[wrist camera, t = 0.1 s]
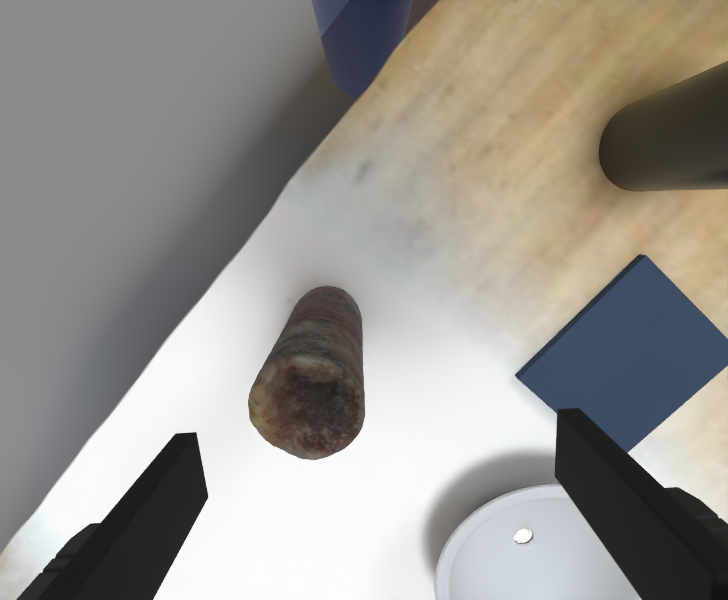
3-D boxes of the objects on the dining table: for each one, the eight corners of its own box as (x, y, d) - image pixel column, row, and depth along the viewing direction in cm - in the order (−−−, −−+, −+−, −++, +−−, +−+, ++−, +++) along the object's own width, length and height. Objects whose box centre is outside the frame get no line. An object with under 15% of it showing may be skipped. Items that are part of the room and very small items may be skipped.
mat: (639, 254, 42) (646, 255, 41) (733, 350, 44) (742, 353, 43) (514, 375, 45) (518, 378, 44) (609, 459, 47) (614, 464, 46)
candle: (375, 332, 43) (386, 433, 24) (318, 365, 44) (283, 488, 25) (339, 272, 42) (319, 328, 22) (280, 307, 43) (212, 390, 23)
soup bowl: (450, 630, 52) (462, 689, 46) (403, 476, 47) (410, 518, 41) (633, 588, 51) (672, 643, 45) (605, 425, 46) (644, 460, 40)
